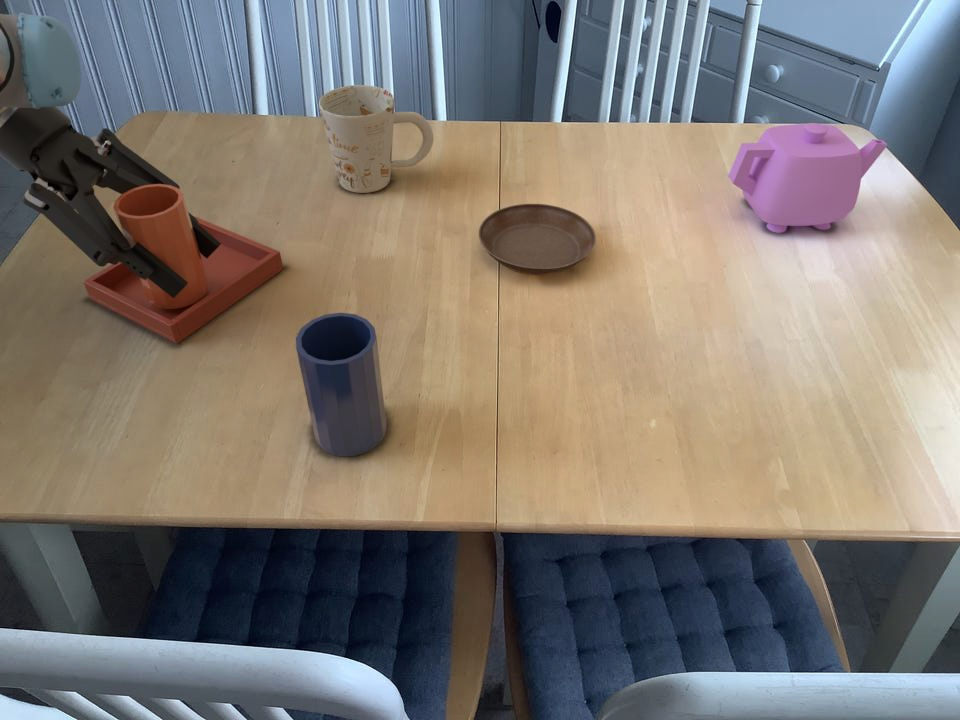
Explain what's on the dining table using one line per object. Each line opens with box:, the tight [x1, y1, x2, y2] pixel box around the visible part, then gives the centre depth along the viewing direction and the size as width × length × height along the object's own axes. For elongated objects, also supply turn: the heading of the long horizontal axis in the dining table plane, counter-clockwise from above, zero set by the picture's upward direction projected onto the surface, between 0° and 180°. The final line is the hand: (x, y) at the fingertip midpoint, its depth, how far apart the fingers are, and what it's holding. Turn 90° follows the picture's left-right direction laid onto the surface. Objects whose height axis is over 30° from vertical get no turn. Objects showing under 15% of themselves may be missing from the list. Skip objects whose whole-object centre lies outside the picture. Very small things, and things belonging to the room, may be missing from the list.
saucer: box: [478, 203, 597, 276], centre depth 99 cm, size 15×15×3 cm
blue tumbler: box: [295, 312, 387, 457], centre depth 73 cm, size 7×7×12 cm
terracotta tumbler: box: [112, 184, 208, 309], centre depth 87 cm, size 7×7×12 cm
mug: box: [318, 84, 434, 194], centre depth 109 cm, size 10×15×12 cm, turn 101°
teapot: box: [727, 122, 888, 234], centre depth 102 cm, size 20×12×13 cm, turn 97°
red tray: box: [82, 216, 284, 345], centre depth 94 cm, size 17×15×3 cm
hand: (197, 270), depth 88 cm, fingers closed on terracotta tumbler, 7 cm apart
